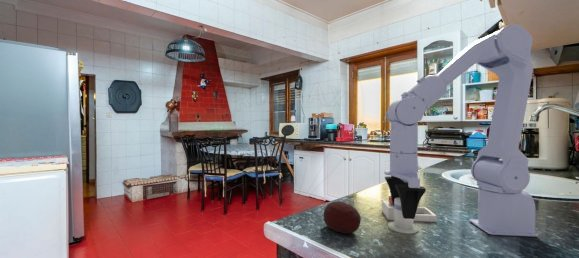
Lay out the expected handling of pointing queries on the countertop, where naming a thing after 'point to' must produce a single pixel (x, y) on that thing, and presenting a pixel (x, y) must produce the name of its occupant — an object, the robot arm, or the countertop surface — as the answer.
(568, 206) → the countertop surface
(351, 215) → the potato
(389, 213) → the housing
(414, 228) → the pale green dome
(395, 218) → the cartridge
